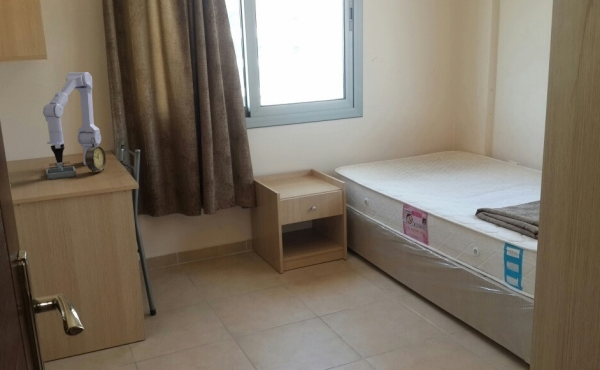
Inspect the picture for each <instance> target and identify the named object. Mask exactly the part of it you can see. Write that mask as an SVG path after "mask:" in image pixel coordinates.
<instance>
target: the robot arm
mask: <svg viewBox="0 0 600 370" xmlns="http://www.w3.org/2000/svg"><path fill="white" fill-rule="evenodd" d="M93 86H94V85H93V77H92V75H91V73H89V72H88V71H85V72H83V71H82V72H78V71H77V72H76V71H73V72H72V71H69V72H68V73H67V75H66V76H65V83H64V85H63V87H62V89H61V90H60V91H59V92H56V93H55V95H54V96H53V98H52V99H51V100H50V102H49V103H48V104H46V105H45V106H43V108H42V109H43V110H42V115H43V116H44V119H45V121H46V122H47V129H48V137H49V141H47V143H46V144H47V145H50V150H51V151H52V153H53V154H54V157H55V161H57V162H56V163H61V162H63V159H64V157H63V156H64V150H65V148H66V147H65V144H64V143H65V140H64V133H63V126H62V124H63V123H62V118H61V117H62V116H63V114H64V110H65V109H64V108H65V106H66V104H68V101H69V97H68V96H70V94H71V93H72V92H73V90H74V89H75V90H77V91H78V93H79V94H80V95H79V96H80V108H81V111H80V113H81V123H82V125H81V126H79V128H78V131H77V132H78V134H77V141H78V144H79V145H80V146H81V147H82V151H83V152H82V153H83V161H82V162H83V165H84V166H87V165H86V161H85V154H86V151H87V149H88V148H89V147H92V144H91V142H92V143H94V140H95V143H94V146H99V145H100V144H101V142H102V135H101V130H100V128H99V127H97V125H95V123H94V122H95V120H94V107H93V106H94V103H93V92H92V91H93V88H94V87H93ZM92 137H93V138H94V139H93V138H92ZM91 138H92V140H91Z"/></svg>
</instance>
